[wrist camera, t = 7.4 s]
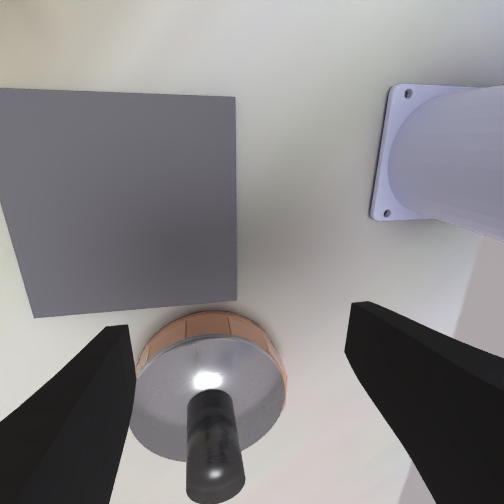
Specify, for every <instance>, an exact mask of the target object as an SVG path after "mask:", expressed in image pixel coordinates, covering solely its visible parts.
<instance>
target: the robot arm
mask: <svg viewBox="0 0 504 504" xmlns="http://www.w3.org/2000/svg"><path fill="white" fill-rule="evenodd" d="M406 90H407V92H408V96H407V98H405V97H404V93H405V91H406ZM386 210H387V214H386V215H385V216H384V212H385V211H386ZM370 216H371V218H372V219H374V220H376V221H392V220H415V219H437V220H440V221H443V222H446V223H449V224H452V225H455V226H458V227H461V228H464V229H467V230H470V231H473V232H476V233H479V234H482V235H485V236H488V237H492V238H494V239H497V240H500V241H504V85H500V86H494V87H488V88H478V87H458V86H439V85H419V84H397V85H395V86H393V87H392V88H391V90H390V92H389V97H388V104H387V110H386V116H385V123H384V129H383V136H382V142H381V148H380V155H379V161H378V167H377V174H376V180H375V187H374V193H373V199H372V206H371V212H370ZM344 352H345V354H346V357H347V359H348V361H349V363H350V365H351V367H352V369H353V371H354V373H355V375H356V376H357V378H358V380H359V381H360V383H361V385H362V386H363V388H364V389H365V391H366V392H367V394H368V395H369V397H370V398H371V399H372V401H373V402H374V404H375V405H376V407H377V408H378V410H379V411H380V413H381V414H382V416H383V417H384V418H385V420H386V421H387V423H388V424H389V426H390V427H391V429H392V430H393V432H394V433H395V435H396V436H397V437H398V439H399V440H400V442H401V443H402V445H403V446H404V448H405V450H406V451H407V453H408V454H409V456H410V458H411V459H412V461H413V463H414V464H415V466H416V468H417V470H418V471H419V473H420V475H421V477H422V479H423V480H424V482H425V484H426V486H427V487H428V489H429V491H430V493H431V494H432V496H433V498H434V500H435V502H436V504H504V358H501V357H499V356H496V355H493V354H490V353H488V352H485V351H483V350H480V349H477V348H475V347H472V346H470V345H468V344H465V343H463V342H460V341H458V340H456V339H453V338H451V337H449V336H446V335H444V334H442V333H439V332H437V331H435V330H433V329H430V328H428V327H426V326H424V325H422V324H420V323H417V322H415V321H413V320H411V319H409V318H407V317H404V316H402V315H400V314H398V313H396V312H394V311H391V310H389V309H387V308H384V307H382V306H380V305H377V304H375V303H372V302H369V301H365V302H355V303H352V304H351V311H350V318H349V324H348V331H347V338H346V344H345V351H344ZM136 380H137V378H136V371H135V365H134V359H133V353H132V346H131V340H130V334H129V328H128V325H117V326H107V327H105V328H104V329H103V330H102V331H101V332H100V333H99V334H98V335H97V336H96V337H94V338H93V339H92V340H91V341H90V342H89V343H88V344H87V345H86V346H85V347H84V348H83V349H82V350H81V351H80V352H79V353H78V354H77V355H76V356H75V357H74V358H73V359H72V360H71V361H70V362H69V363H68V364H66V365H65V366H64V367H63V368H62V369H61V370H60V371H59V372H58V373H57V374H56V375H55V376H54V377H53V378H51V379H50V380H49V381H48V382H47V383H46V384H44V385H43V386H42V387H41V388H40V389H39V390H38V391H36V392H35V393H34V394H33V395H32V396H31V397H30V398H28V399H27V400H26V401H25V402H24V403H23V404H22V405H20V406H19V407H18V408H17V409H16V410H14V411H13V412H12V413H11V414H9V415H8V416H7V417H6V418H4V419H3V420H2V421H1V422H0V504H109V502H110V498H111V494H112V490H113V486H114V482H115V478H116V474H117V471H118V467H119V463H120V459H121V455H122V451H123V447H124V443H125V440H126V436H127V432H128V428H129V424H130V420H131V416H132V411H133V404H134V397H135V389H136Z"/></svg>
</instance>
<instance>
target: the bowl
mask: <svg viewBox="0 0 504 504" xmlns="http://www.w3.org/2000/svg"><path fill="white" fill-rule="evenodd" d="M210 333H225V334H232V335H237V336H241V337H244V338H247V339H249V340H252V341H254V342H256V343H257V344H259V345H261V346H262V347H263V348H265V349H266V350H267V351H268V352H269V353H270V354H271V355H272V356H273V358H274V359H275V361H276V363H277V365H278V367H279V369H280V372H281V374H282V377H283V380H284V384H285V401H284V405H283V409H284V408H285V404H286V389H287V374H286V372H285V370H284V367H283V365H282V362H281V360H280V357H279V355H278V353H277V352H276V350H275V349H274V347H273V346H272V343H271V341H270V339H269V337H268V336H267V334H266V333H265V332H264V331H263V329H262V328H260V327H259V326H258V325H257V324H256V323H254V322H253V321H251V320H249V319H247V318H245V317H243V316H240V315H237V314H234V313H229V312H222V311H206V312H199V313H194V314H190V315H187V316H184V317H182V318H179V319H177V320H175V321H173V322H171V323H169V324H168V325H166V326H165V327H163V328H162V329H161V330H160V331H158V332H157V333H156V334H155V335H154V336H153V337H152V338H151V339H150V341H149V342H148V343H147V345H146V346H145V348H144V350H143V352H142V354H141V356H140V360H139V363H138V365H137V367H136V369H135V371H136V375H137V374H138V372H139V371H140V369H141V368H142V367H143V365H144V364H145V363H146V362H147V361H148V360H149V359H150V358H151V357H152V356H153V355H155V354H156V353H157V352H159V351H160V350H162V349H163V348H165V347H167V346H168V345H170V344H172V343H174V342H177V341H179V340H182V339H185V338H188V337H191V336H196V335H201V334H210ZM283 409H282V411H283ZM282 411H281V412H282Z"/></svg>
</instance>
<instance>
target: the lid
mask: <svg viewBox="0 0 504 504" xmlns="http://www.w3.org/2000/svg"><path fill="white" fill-rule="evenodd" d="M136 378H137V380H136V389H135V397H134V404H133V411H132V416H131V420H130V424H129V426H130V429H131V431H132V433H133V434H134V436H135V437H136V439H137V440H138V441H139V442H140V443H141V444H142V445H143V446H144V447H145V448H147V449H148V450H150V451H151V452H153V453H155V454H157V455H159V456H162V457H165V458H168V459H171V460H176V461H183V462H186V492H187V495H188V497H189V498H190V499H191V500H192V501H194V502H196V503H199V504H218V503H222V502H224V501H227V500H229V499H231V498H232V497H234V496H235V495H237V494H238V493H239V492H240V491H241V489H242V488H243V486H244V484H245V474H244V467H243V461H242V455H241V451H242V450H244V449H246V448H248V447H250V446H251V445H253V444H254V443H255V442H257V441H258V440H259V439H261V438H262V437H263V436H264V435H265V434H266V433H267V432H268V431H269V430H270V429H271V428H272V426H273V425H274V424H275V422H276V421H277V419H278V417H279V416H280V413H281V411H282V409H283V405H284V401H285V384H284V380H283V377H282V374H281V372H280V369H279V367H278V365H277V363H276V361H275V359H274V358H273V356H272V355H271V354H270V353H269V352H268V351H267V350H266V349H265V348H263V347H262V346H261V345H259V344H257V343H256V342H254V341H252V340H249V339H247V338H244V337H241V336H237V335H232V334H225V333H210V334H201V335H196V336H191V337H188V338H185V339H182V340H179V341H177V342H174V343H172V344H170V345H168V346H167V347H165V348H163V349H162V350H160V351H159V352H157V353H156V354H155V355H153V356H152V357H151V358H150V359H149V360H148V361H147V362H146V363H145V364H144V365H143V367H142V368H141V369H140V371H139V372H138V374H137V375H136Z"/></svg>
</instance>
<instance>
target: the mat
mask: <svg viewBox="0 0 504 504" xmlns="http://www.w3.org/2000/svg"><path fill="white" fill-rule="evenodd" d="M0 203H1V206H2V210H3V213H4V217H5V220H6V223H7V227H8V230H9V234H10V237H11V241H12V244H13V248H14V251H15V254H16V258H17V261H18V265H19V268H20V272H21V275H22V278H23V282H24V285H25V289H26V292H27V296H28V299H29V303H30V306H31V309H32V313H33V316H34V318H43V317H54V316H65V315H77V314H88V313H99V312H111V311H122V310H133V309H145V308H156V307H167V306H178V305H190V304H201V303H212V302H224V301H235V300H237V269H236V129H235V97H222V96H196V95H169V94H143V93H116V92H90V91H63V90H37V89H10V88H0Z"/></svg>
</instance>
